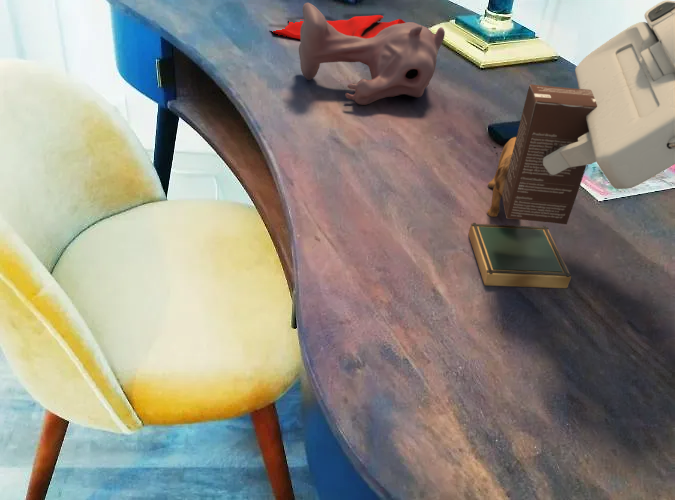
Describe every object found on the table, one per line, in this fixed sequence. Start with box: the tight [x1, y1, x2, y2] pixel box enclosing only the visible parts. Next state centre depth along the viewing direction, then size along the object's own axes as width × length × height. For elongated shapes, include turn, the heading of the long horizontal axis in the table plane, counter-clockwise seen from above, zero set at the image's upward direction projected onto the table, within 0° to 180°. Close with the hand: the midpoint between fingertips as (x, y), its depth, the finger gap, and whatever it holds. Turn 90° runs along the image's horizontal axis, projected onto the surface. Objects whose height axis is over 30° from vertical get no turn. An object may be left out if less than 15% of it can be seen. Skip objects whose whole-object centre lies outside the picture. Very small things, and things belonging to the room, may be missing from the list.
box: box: [501, 83, 597, 225], centre depth 59 cm, size 6×4×12 cm
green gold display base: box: [468, 222, 572, 289], centre depth 67 cm, size 8×8×2 cm
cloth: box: [273, 14, 407, 40], centre depth 115 cm, size 26×14×2 cm, turn 100°
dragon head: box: [298, 2, 446, 106], centre depth 94 cm, size 14×13×20 cm
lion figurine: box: [486, 136, 517, 218], centre depth 73 cm, size 15×5×9 cm, turn 174°
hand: (544, 149), depth 59 cm, fingers closed on box, 4 cm apart
